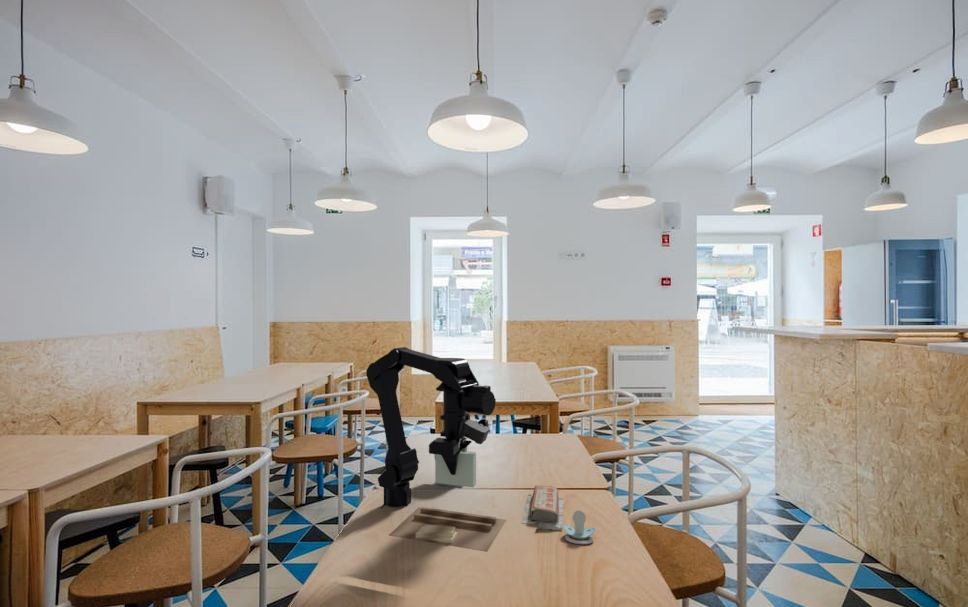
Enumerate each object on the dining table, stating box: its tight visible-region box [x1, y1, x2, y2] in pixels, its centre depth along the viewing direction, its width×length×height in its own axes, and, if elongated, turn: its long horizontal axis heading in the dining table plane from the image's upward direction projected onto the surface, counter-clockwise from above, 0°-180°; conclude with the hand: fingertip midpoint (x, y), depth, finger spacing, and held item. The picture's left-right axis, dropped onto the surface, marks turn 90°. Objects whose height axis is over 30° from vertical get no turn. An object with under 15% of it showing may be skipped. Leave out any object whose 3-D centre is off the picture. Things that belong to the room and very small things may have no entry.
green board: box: [434, 450, 477, 488], centre depth 121 cm, size 10×2×8 cm, turn 72°
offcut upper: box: [422, 525, 455, 537], centre depth 112 cm, size 7×3×1 cm, turn 82°
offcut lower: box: [416, 527, 458, 544], centre depth 112 cm, size 9×4×1 cm, turn 72°
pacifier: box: [562, 510, 596, 545], centre depth 114 cm, size 7×6×6 cm
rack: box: [388, 506, 507, 552], centre depth 117 cm, size 24×16×2 cm, turn 72°
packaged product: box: [521, 485, 564, 531], centre depth 127 cm, size 18×5×10 cm
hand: (454, 473), depth 121 cm, fingers closed on green board, 2 cm apart
